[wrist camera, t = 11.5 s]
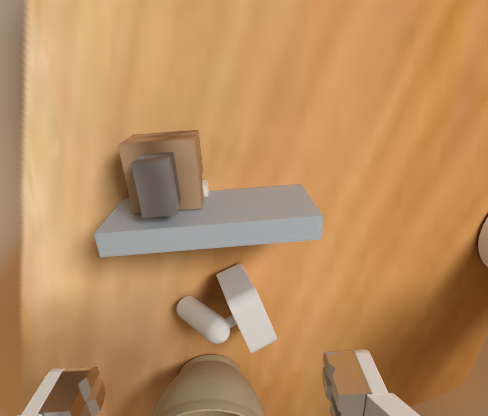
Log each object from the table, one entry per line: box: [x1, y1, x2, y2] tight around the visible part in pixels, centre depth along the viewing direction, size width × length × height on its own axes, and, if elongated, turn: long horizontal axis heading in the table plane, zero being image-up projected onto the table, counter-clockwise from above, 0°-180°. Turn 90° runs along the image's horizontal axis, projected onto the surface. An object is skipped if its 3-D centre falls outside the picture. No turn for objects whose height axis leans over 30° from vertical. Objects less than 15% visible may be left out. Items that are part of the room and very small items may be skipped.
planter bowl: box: [152, 355, 264, 416], centre depth 43 cm, size 16×16×11 cm
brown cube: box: [118, 130, 204, 218], centre depth 31 cm, size 7×7×9 cm
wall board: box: [94, 180, 323, 257], centre depth 32 cm, size 21×4×9 cm, turn 93°
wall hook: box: [177, 263, 277, 353], centre depth 38 cm, size 8×10×10 cm
